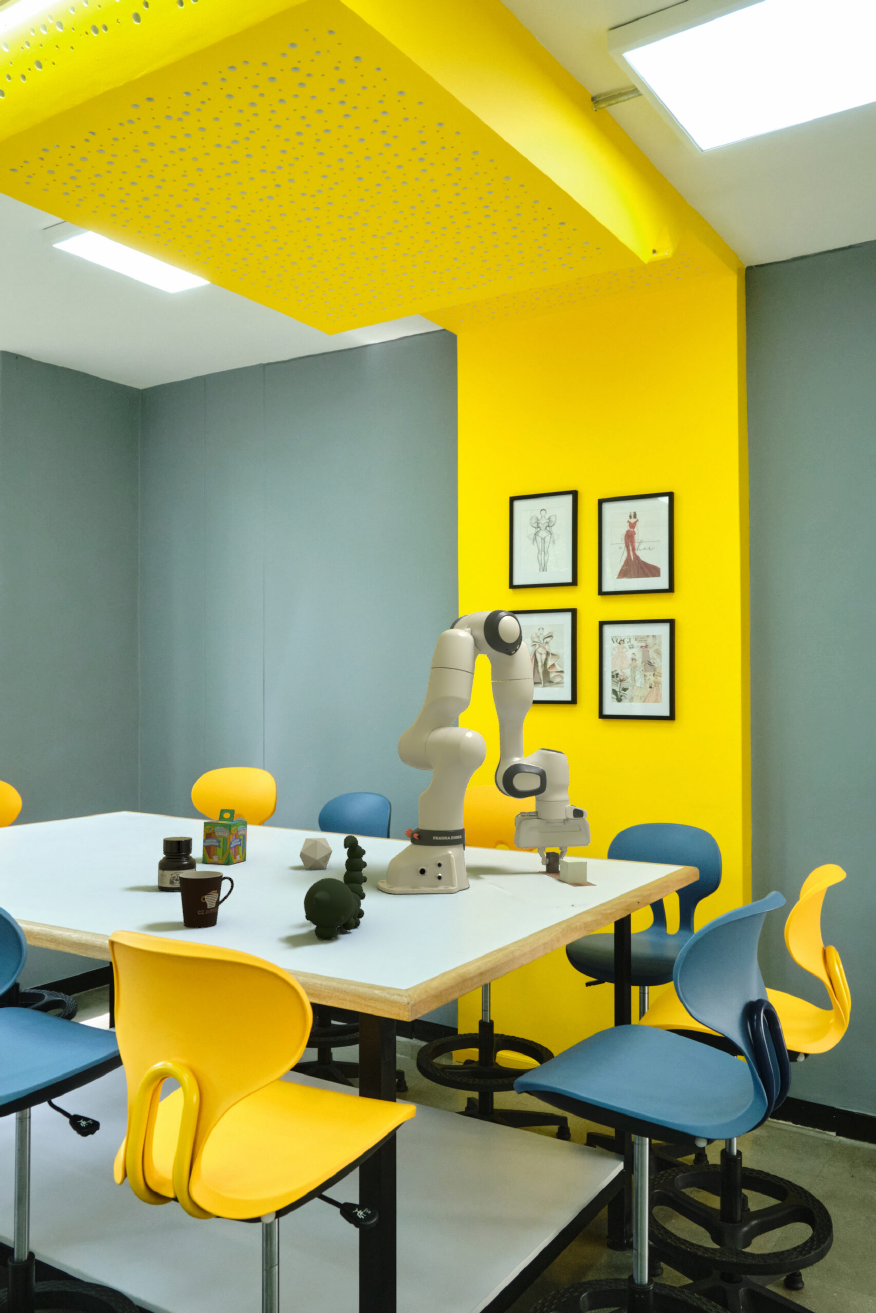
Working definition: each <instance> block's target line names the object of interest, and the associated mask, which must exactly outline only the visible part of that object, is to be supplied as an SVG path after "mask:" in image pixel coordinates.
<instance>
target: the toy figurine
mask: <svg viewBox="0 0 876 1313" xmlns="http://www.w3.org/2000/svg"><path fill="white" fill-rule="evenodd" d="M343 849H345V850H347V851H346V856H347V858H346V860H345V862H344V866H345V872H344V874H343V877H342V881H341V880H339V879H337V878H335V877H334V878H332V877H325V878H322V879H319V880H317V881H316V882H314V883H313V884H311V886H310V887H309V889H308V890H307V892H306V893H305V896H304V900H303V908H304V914H305V915H304V918H305V920H306V921H309V922H310V923H311V924H313V925H314V926H315V927H314V931H313V932H314V935H315V936H316V937H317V938H319V939H321V940H333V939H334V938H335V937H336V935H337V933H338V929H337V928H340V927H342V929H344V930H345V931H346V932H349V931H352V930H353V929H354V928H356V929H357V928H358V927H360V926H361V919H362V918H364V916H365V910H364V909H363V908H362V901H363V900H365V898H366V895H367V894H366V893H365V892H364V888H363V886H362V885H363V884H365V883H366V882H368V877H367V876H366V875H364V873H363V872H362V871H363V870H364V869H366V868H367V866H368V864H367V862H366V861H365V860H364V859H363V858H364V856H365V855H366V854H367V850H365V849H364V848H363V847H362V846H361V845H359V840H358V839H357V837H356V836H354V835H351V834H350V835H346V837H345V838H344V839H343Z"/></svg>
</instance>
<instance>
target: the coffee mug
mask: <svg viewBox="0 0 876 1313" xmlns="http://www.w3.org/2000/svg"><path fill="white" fill-rule="evenodd" d="M223 875H224V873H223V872H221V871H216V870H196V871H193V872H186V873H182V874H180V875H179V881H180V891H179V892H180V899H181V908H182V910H181V911H182V918H183V919H182V920H183V926H184V927H185V928H186V929H205V928H207V929H208V928H211V927H215V926H217V923H218V918H219V917H218V915H219V908H220V906H221V905H222V904H223V903H224V901H226V900H227V899H228V898H229V896H230V895H231V893H233V892H232V891H233V889H234V887H235V882H234V880H233V878H232V877H229V876H223ZM225 880H228V881H229V882H230V888H229V890H228V892H227V893H226V894H225V895H224V897H223V898H221V891H222V884H223V881H225Z"/></svg>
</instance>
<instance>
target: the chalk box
mask: <svg viewBox="0 0 876 1313" xmlns="http://www.w3.org/2000/svg"><path fill="white" fill-rule="evenodd" d="M235 813H236V810H235V809H234V808H221V809H220V811H219V815H218V816H219V817H218V819H213V820H209V821H204V822H203V832H202V834H203V836H202V838H203V839H202V840H203V841H202V856H201V857H202V858H201V863H202V864H213V865H221V866H222V865H223V866H231V865H235V864H237V863H241V862H246V861H247V841H248V821H247V820H241V819H235ZM225 814H229V817H224V815H225Z"/></svg>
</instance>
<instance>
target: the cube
mask: <svg viewBox="0 0 876 1313" xmlns="http://www.w3.org/2000/svg"><path fill="white" fill-rule="evenodd" d="M559 871H560V880H562V881H564V882H567V883H580V882H588V862H587V861H586V860H584V859H580V858H563V859H560V865H559ZM562 881H561V882H562ZM564 882H563V883H564Z"/></svg>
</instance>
